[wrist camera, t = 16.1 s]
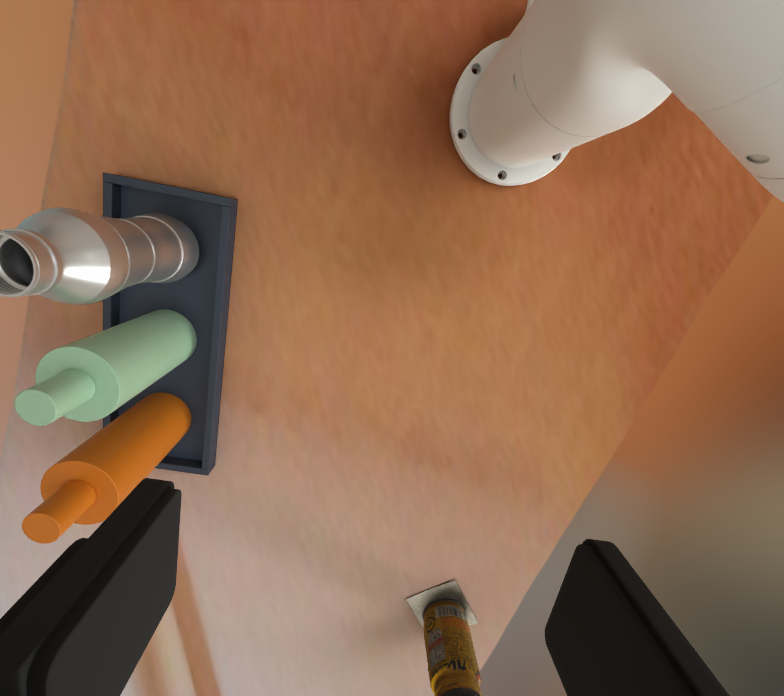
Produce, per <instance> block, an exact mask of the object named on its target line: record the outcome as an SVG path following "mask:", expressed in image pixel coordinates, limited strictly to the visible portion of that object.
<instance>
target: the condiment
mask: <svg viewBox="0 0 784 696" xmlns="http://www.w3.org/2000/svg"><path fill="white" fill-rule="evenodd" d="M406 600H407V602H408V604H409V605H410V607H411V609H412V610H413V612H414V614H415V615H416V617H417V619H418V620H419V622H420V623H421V625H422V627H423V629H424V639H425V646H426V652H427V662H428V671H429V678H430V683H431V684H430V685H431V688H432V691H433V693H434V694H435V696H481V690H480V681H481V678H480V673H479V668H478V664H477V660H476V656H475V651H474V647H473V642H472V638H471V634H470V630H469V626H471V625H473V624H476V623H478V622H477V620H476V618H475V616H474V614H473V612H472V610H471V608H470V607H469V605H468V603H467V601H466V599H465V598H464V596H463V594H462V592H461V590H460V588H459V587H458V585H457V583H456V581H452V582H448V583H446V584H443V585H440V586H437V587H434V588H432V589H429V590H426V591H424V592H422V593H420V594H417V595H414V596H413V597H410V598H408V599H406Z"/></svg>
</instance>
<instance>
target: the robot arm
mask: <svg viewBox="0 0 784 696" xmlns="http://www.w3.org/2000/svg"><path fill="white" fill-rule="evenodd" d="M473 69H475V70H476V74H474V73H473V72H472V70H473ZM672 92H673V93H674V95H675V96H676V97H677V98H678V99H679V100H680V101H681V102H682V103H683V104H684V105H685V106H686V108H687V109H688V110H690V111H693V112H694V113H695V114H696V115H697V116H698V117H699V118H700V120H701V121H702V122H703V123H704V124H705V125H706V126H707V127H708V128H709V129H710V130H711V131H712V133H713V134H714V135H715V136H716V137H717V138H718V139H719V140H720V141H721V142H722V143H723V144H724V146H725V147H726V148H727V149H728V150H729V151H730V152H731V153H732V154H733V155H734V156H735V157H736V159H737V160H738V161H739V162H740V163H741V164H742V165H743V166H744V167H745V168H746V169H747V170H748V171H749V172H750V173H751V174H752V175H753V176H754V177H755V179H756V180H757V181H758V182H759V183H760V184H761V185H762V186H763V187H765V188H766V189H767V190H768V191H769V192H770V193H771V194H772V195H774V196H775V197H776V198H778V199H779V200H781V201H782V202H784V0H528V3H527V7H526V12H525V15H524V16H523V18H522V19H521V21H520V22H519V23H518V25H517V26H516V28H515V29H514V30H513V32H512V33H511V35H510V36H509V37H507V38H504V39H502V40H499V41H496V42H494V43H492V44H491V45H489V46H488V47H486V48H485V49H483V50H482V51H481V52H480V53H479V54H478V55H476V56H475V57H474V58H473V59H472V60H471V62H470V63H469V65H468V66H467V67H466V69H465V70H464V71H463V73H462V75H461V77H460V78H459V80H458V83H457V85H456V88H455V90H454V93H453V96H452V101H451V106H450V129H451V136H452V139H453V142H454V146H455V149H456V150H457V152H458V154H459V156H460V158H461V160H462V161H463V162H464V163H465V165H466V166H467V167H468V168H469V169H470V170H471V171H472V172H473V173H475V174H476V175H477V176H478V177H480V178H482V179H484V180H486V181H488V182H490V183H494V184H497V185H504V186H515V185H522V184H526V183H529V182H533V181H535V180H537V179H539V178H541V177H543V176H545V175H546V174H548V173H549V172H551V171H552V170H553V169H555V168H556V167H557V166H558V165H559V164H560V163H561V162H562V161H563V159H564V158H565V157H566V155H567V154H568V152H569V151H570V149H571V148H573V147H576V146H578V145H581V144H584V143H586V142H589V141H591V140H594V139H596V138H599V137H601V136H604V135H606V134H609V133H611V132H614V131H616V130H619V129H621V128H624V127H626V126H629V125H631V124H632V123H634V122H636V121H638V120H640V119H642V118H643V117H645V116H646V115H648V114H649V113H650V112H651V111H653V110H654V109H655V108H657V107H658V106H659V105H660V104H661V103H662V102H663V101H664V100H665V99H666V98H667V97H668V96H669V95H670V94H671V93H672ZM459 133H461V134H462V135H463V137H462V138H459V137H458V134H459ZM553 155H554V156H555V159H554V160H553V158H552V156H553ZM498 174H501V175H502V178H501V179H499V178H498ZM180 509H181V490H178V489H174V483H173V482H171V481H164V480H157V479H149V478H145V479H143V480H142V481H141V482H140V483H139V484H138V485H137V486H136V487H135V488H134V489H133V490H132V491H131V493H130V494H129V495H128V496H127V497H126V498H125V499H124V500H123V501H122V502H121V503H120V505H119V506H118V507H117V508H116V509H115V510H114V511H113V512H112V513H111V514H110V515H109V517H108V518H107V519H106V520H105V521H104V522H103V523H102V524H101V525H100V526H99V527H98V529H97V530H96V531H95V532H94V533H93V534H92V535H91V536H90V537H89V538H88V539H87V538H81V539H79V540H77V541H75V542H74V543H73V544H72V545H71V546H69V547H68V548H67V550H66V551H65V552H64V553H63V554H62V555H61V556H60V557H59V558H58V559H57V560H56V561H55V562H54V563H53V564H52V565H51V566H50V567H49V568H48V569H47V571H46V572H45V573H44V574H43V575H42V576H41V577H40V578H39V579H38V580H37V581H36V582H35V583H34V584H33V585H32V586H31V587H30V588H29V589H28V590H27V592H26V593H25V594H24V595H23V596H22V597H21V598H20V599H19V600H18V601H17V602H16V603H15V604H14V605H13V606H12V607H11V608H10V609H9V610H8V611H7V613H6V614H5V615H4V616H3V617H2V618H1V619H0V696H120V695H121V693H122V691H123V689H124V687H125V685H126V684H127V682H128V680H129V678H130V676H131V674H132V672H133V671H134V669H135V667H136V665H137V663H138V661H139V660H140V658H141V656H142V654H143V652H144V650H145V648H146V647H147V645H148V643H149V641H150V639H151V637H152V636H153V634H154V632H155V630H156V628H157V626H158V624H159V623H160V621H161V619H162V617H163V615H164V613H165V612H166V610H167V608H168V606H169V604H170V602H171V600H172V597H173V594H174V591H175V586H176V573H177V557H178V541H179V525H180ZM545 641H546V645H547V647H548V650H549V652H550V654H551V657H552V659H553V662H554V664H555V667H556V669H557V672H558V674H559V676H560V679H561V681H562V684H563V686H564V688H565V691H566V693H567V696H729V694H728V693H727V692H726V690H725V689H724V688H723V686H722V685H721V684H720V683H719V681H718V680H717V678H716V677H715V676H714V675H713V673H712V672H711V671H710V669H709V668H708V667H707V665H706V664H705V663H704V661H703V660H702V659H701V658H700V656H699V655H698V653H697V652H696V651H695V649H694V648H693V647H692V646H691V644H690V643H689V642H688V640H687V639H686V638H685V636H684V635H683V634H682V632H681V631H680V630H679V629H678V627H677V626H676V625H675V623H674V622H673V620H672V619H671V618H670V617H669V615H668V614H667V613H666V611H665V610H664V609H663V607H662V606H661V605H660V603H659V602H658V601H657V600H656V598H655V597H654V595H653V594H652V593H651V592H650V590H649V589H648V588H647V586H646V585H645V584H644V582H643V581H642V580H641V578H640V577H639V576H638V575H637V573H636V572H635V570H634V569H633V568H632V567H631V565H630V564H629V563H628V561H627V560H626V558H625V557H624V556H623V555H622V553H621V552H620V551H619V549H618V548H617V547H616V546H615V545H614V544H613V543H611V542H607V541H599V540H592V539H586V540H585V541H584V542H583V543H582V544H580V545H578V546H577V547H576V549H575V552H574V555H573V557H572V560H571V562H570V565H569V567H568V570H567V573H566V575H565V578H564V580H563V583H562V586H561V588H560V591H559V594H558V596H557V599H556V601H555V604H554V606H553V609H552V612H551V614H550V617H549V620H548V622H547V625H546V628H545Z"/></svg>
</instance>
